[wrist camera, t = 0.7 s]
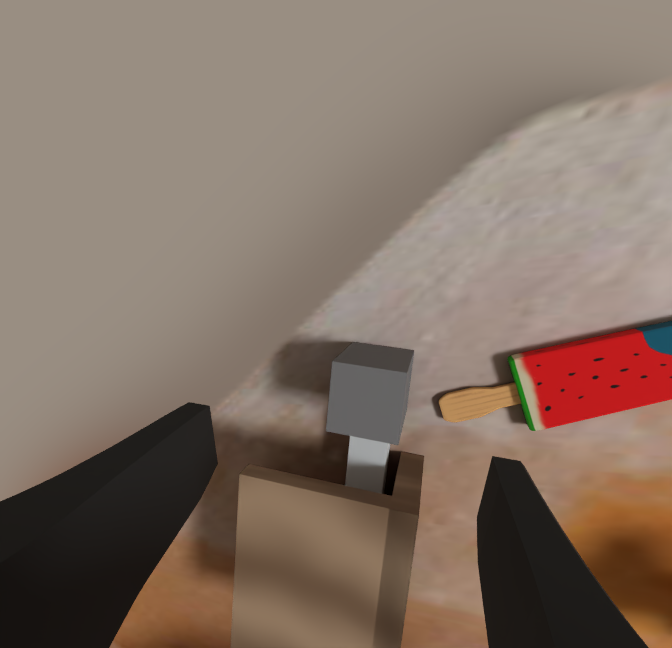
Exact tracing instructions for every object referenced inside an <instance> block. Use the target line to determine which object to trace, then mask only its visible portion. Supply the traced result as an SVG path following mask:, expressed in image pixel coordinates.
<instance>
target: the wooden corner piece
mask: <svg viewBox="0 0 672 648" xmlns="http://www.w3.org/2000/svg"><path fill="white" fill-rule="evenodd" d="M423 462H424V456H421V455H416V454H411V453H406V452H401V456H400V461H399V465H398V470H397V475H396V480H395V485H394V489H393V494H392V496H390V495H385V494H381V493H376V492H372V491H367V490H363V489H359V488H354V487H350V486H345V485H341V484H336V483H332V482H327V481H323V480H318V479H314V478H309V477H305V476H301V475H296V474H292V473H287V472H283V471H278V470H274V469H269V468H265V467H260V466H256V465H252V464H248V466H247V467H246V468H245V469H244V470H243V471H242V472H241V473H240V474H239V493H238V512H237V532H236V551H235V570H234V590H233V609H232V629H231V648H401V641H402V633H403V626H404V619H405V612H406V605H407V597H408V590H409V583H410V576H411V568H412V561H413V554H414V547H415V539H416V532H417V525H418V518H419V508H420V496H421V485H422V473H423Z"/></svg>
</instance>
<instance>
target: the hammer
mask: <svg viewBox="0 0 672 648" xmlns="http://www.w3.org/2000/svg"><path fill="white" fill-rule="evenodd" d="M413 356H414V350H408V349H401V348H394V347H387V346H380V345H373V344H366V343H358V342H353V343H352V344H350V345H349V346H348V347H347V348H346V349H345V350H344V351H343V352H342V353H341V354H340V355H339V356H338V357H336V358H335V359H334V360H333V361H332V370H331V381H330V392H329V403H328V414H327V425H326V431H328V432H333V433H338V434H343V435H348V436H350V442H349V452H348V461H347V471H346V481H345V486H350V487H354V488H359V489H363V490H367V491H372V492H376V493H381V494H384V491H385V483H386V474H387V466H388V458H389V450H390V444H394V445H398V444H399V440H400V436H401V432H402V427H403V423H404V419H405V414H406V410H407V403H408V395H409V387H410V379H411V371H412V363H413Z"/></svg>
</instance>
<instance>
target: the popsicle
mask: <svg viewBox="0 0 672 648" xmlns="http://www.w3.org/2000/svg"><path fill="white" fill-rule="evenodd" d="M508 363H509V366H510V369H511V373H512V376H513V379H514V382H513V383H509V384H504V385H500V386H496V387H471V388H467V389H463V390H458V391H454V392H450V393H447V394H445V395H443V396H442V397H441V398H440V399H439V405H440V408H441V411H442V414H443V418H444V420H446V421H450V422H460V421H465V420H469V419H474V418H479V417H482V416H484V415H486V414H488V413H490V412H493V411H495V410H497V409H499V408H503V407H507V406H512V405H517V404H521V406H522V409H523V413H524V416H525V419H526V422H527V425H528V427H529V429H530V430H531V431H538V430H543V429H547V428H551V427H555V426H560V425H564V424H568V423H573V422H577V421H581V420H585V419H590V418H594V417H598V416H602V415H607V414H611V413H615V412H620V411H624V410H628V409H632V408H637V407H641V406H645V405H649V404H654V403H658V402H662V401H667V400H671V399H672V321H668V322H663V323H658V324H654V325H649V326H644V327H640V328H635V329H630V330H626V331H621V332H616V333H612V334H607V335H602V336H598V337H593V338H588V339H584V340H579V341H574V342H569V343H565V344H560V345H555V346H551V347H546V348H541V349H537V350H532V351H527V352H523V353H518V354H514V355H511V356H509V357H508Z"/></svg>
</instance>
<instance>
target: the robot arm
mask: <svg viewBox="0 0 672 648" xmlns="http://www.w3.org/2000/svg"><path fill="white" fill-rule="evenodd" d="M217 464H218V462H217V455H216V448H215V441H214V434H213V427H212V420H211V412H210V406H207V405H201V404H195V403H187V404H185V405H183V406H181V407H179V408H178V409H176V410H174V411H172V412H170V413H169V414H167V415H165V416H164V417H162V418H160V419H158V420H157V421H155V422H154V423H152V424H150V425H149V426H147V427H145V428H143V429H141V430H140V431H138V432H136V433H134V434H133V435H131V436H129V437H128V438H126V439H124V440H122V441H121V442H119V443H117V444H115V445H114V446H112V447H110V448H108V449H106V450H105V451H103V452H101V453H99V454H97V455H95V456H94V457H92V458H90V459H88V460H86V461H84V462H82V463H80V464H78V465H77V466H75V467H73V468H71V469H69V470H67V471H65V472H63V473H61V474H59V475H58V476H55V477H53V478H51V479H49V480H47V481H45V482H43V483H41V484H39V485H37V486H34V487H32V488H30V489H28V490H25V491H23V492H21V493H19V494H17V495H15V496H12V497H10V498H7V499H5V500H3V501H0V648H109V647H110V645H111V643H112V641H113V639H114V638H115V636H116V634H117V632H118V630H119V628H120V627H121V625H122V623H123V621H124V619H125V617H126V615H127V614H128V612H129V610H130V608H131V606H132V604H133V603H134V601H135V599H136V597H137V596H138V594H139V592H140V591H141V589H142V587H143V586H144V584H145V583H146V581H147V579H148V578H149V576H150V575H151V573H152V572H153V570H154V569H155V567H156V566H157V564H158V563H159V561H160V560H161V558H162V557H163V555H164V554H165V552H166V551H167V549H168V548H169V546H170V545H171V543H172V542H173V540H174V539H175V537H176V536H177V534H178V533H179V531H180V529H181V528H182V526H183V525H184V523H185V522H186V520H187V519H188V517H189V516H190V514H191V513H192V511H193V510H194V508H195V506H196V505H197V503H198V502H199V500H200V498H201V497H202V495H203V493H204V491H205V489H206V487H207V485H208V483H209V481H210V479H211V477H212V474H213V472H214V470H215V468H216V466H217ZM477 547H478V567H479V575H480V583H481V591H482V599H483V607H484V614H485V622H486V629H487V637H488V645H489V648H648V646H647V645H646V644H645V643H644V641H643V640H642V639H641V638H640V637H639V635H638V634H637V633H636V631H635V630H634V629H633V628H632V626H631V625H630V624H629V622H628V621H627V620H626V619H625V617H624V616H623V615H622V613H621V612H620V611H619V609H618V608H617V607H616V605H615V604H614V603H613V601H612V600H611V599H610V597H609V596H608V595H607V593H606V592H605V590H604V589H603V588H602V586H601V585H600V584H599V582H598V581H597V580H596V578H595V577H594V575H593V574H592V573H591V571H590V570H589V568H588V567H587V565H586V564H585V562H584V561H583V560H582V558H581V557H580V555H579V554H578V552H577V551H576V549H575V548H574V546H573V545H572V543H571V542H570V540H569V539H568V537H567V536H566V534H565V533H564V531H563V530H562V528H561V526H560V525H559V523H558V522H557V520H556V519H555V517H554V515H553V514H552V512H551V511H550V509H549V507H548V506H547V504H546V502H545V501H544V499H543V497H542V496H541V494H540V492H539V491H538V489H537V487H536V486H535V484H534V482H533V480H532V479H531V477H530V475H529V473H528V472H527V470H526V468H525V466H524V465H523V464H522V463H521V461H517V460H511V459H506V458H500V457H494V456H492V460H491V464H490V468H489V472H488V476H487V480H486V484H485V488H484V491H483V495H482V499H481V503H480V507H479V511H478V515H477Z"/></svg>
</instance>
